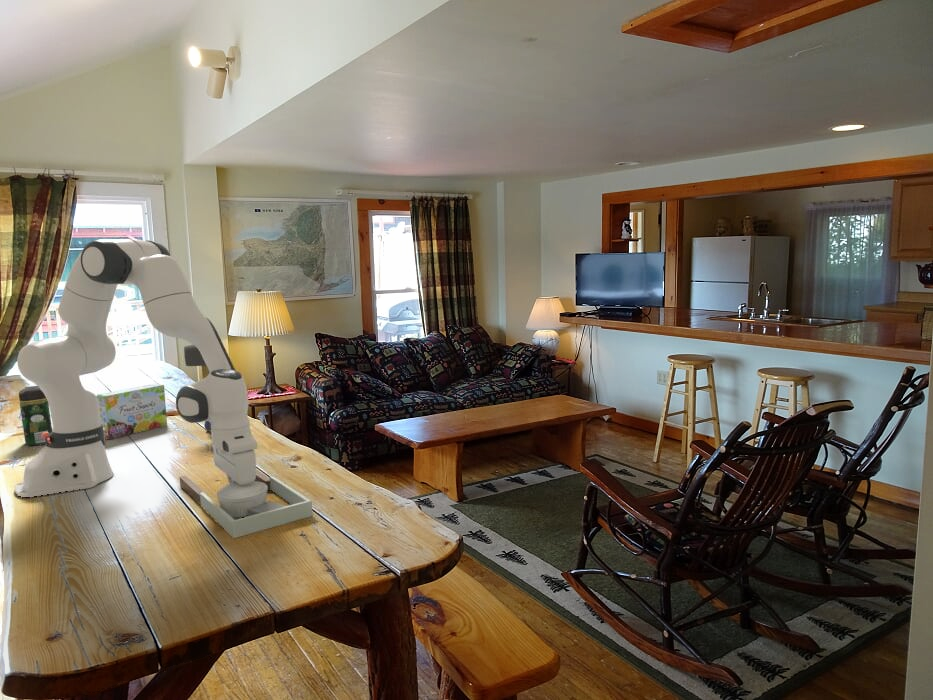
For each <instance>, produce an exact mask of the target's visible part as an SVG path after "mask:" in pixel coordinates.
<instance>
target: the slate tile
mask: <svg viewBox="0 0 933 700" xmlns="http://www.w3.org/2000/svg"><path fill="white" fill-rule="evenodd" d="M285 506H287V505H285V504H282V503H279V502H275V501H271V500H269V501H266V503H263V504H261V505H258V506H256V507H253V508H250V509H248V516H252V515H256V514H259V513H263V512H267V511H271V510H274V509H278V508H282V507H285Z"/></svg>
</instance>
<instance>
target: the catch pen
mask: <svg viewBox="0 0 933 700" xmlns="http://www.w3.org/2000/svg"><path fill="white" fill-rule="evenodd" d="M268 478H269V479H270V490H269V491H271V490H272V491H273V493H274V492H275V493H276V494H275V493H274V494H275V495H276V496H278V495H279V496H278V497H279V498H281V497H282V498H281V499H283V500H284V499H285V500H284V501H286V502H287V501H288V502H289V503H288V502H287V503H288V504H289V505H286V506H285V507H282V508H278V509H274V510H271V511H267V512H263V513H259V514H256V515H252V516H248V517H244V518H236V519H235V518H232V517H231V516H230V515H229V514H228V513H226V512H225V511H224V510H223V509H222V508H221V507H220V505H218V504H217V503H216V502H215V501H214V500H213V499H212V498H211V497H210V496H209V495H208V494H207V493H206V492H205V491H204V492H205V493H206V494H207V495H208V496H207V495H206V494H205V493H204V492H202V493H200V501H201V505H200V507H203V508H204V509H205V510H206V511H207V512H208V513H209V514H210V515H211V516H212V517H213V518H214V519H215V520H216V521H217V522H218V523H219V524H220V525H221V526H222V527H223V528H224V529H223V528H222V527H221V526H220V525H219V524H218V523H217V522H216V521H215V520H214V519H213V518H212V517H211V516H210V515H209V514H208V513H207V512H206V511H205V512H206V513H207V514H208V515H209V516H210V517H211V518H212V519H213V520H214V521H215V522H216V523H217V524H218V525H219V526H220V527H221V528H222V529H223V530H224V531H225V532H227V534H228V535H229V536H231V537H232V538H233V539H235V538H239V537H243V536H246V535H250V534H254V533H257V532H261V531H265V530H268V529H272V528H275V527H278V526H281V525H285V524H289V523H292V522H295V521H300V520H303V519H306V518H310V517H313V502H312V501H313V500H311V499H309V498H308V497H306V496H305V495H303V494H301V493H300V492H298V491H296V490H295V489H294V488H293V487H291V486H289V485H287V484H286V483H284V482H282V481H281V480H280V479H278V478H276V477H275V476H273V475H270V476H269V477H268ZM272 491H271V492H272Z"/></svg>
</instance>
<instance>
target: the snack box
mask: <svg viewBox="0 0 933 700" xmlns="http://www.w3.org/2000/svg"><path fill="white" fill-rule="evenodd" d="M165 392H166V391H165V384H158V383H151V384H146V385H142V386H141V385H140V386H135V387H131V388H125V389H119V390H114V391H108V392H102V393H98V394H96V396H97V398H98V401H99V410H100V419H101V424H102V425H103V428H104V433H105V438H107V439H106V440H108V439H110V440H113V439H112V438H114V439H117V437H118V438H121V436H122V437H126V436H129V435H128V434H130V435H133V434H132V433H135V434H137V433H136V432H139V433H141V431H143V432H146V430H147V431H150V429H151V430H154V428H155V429H158V428H163V427H165V426H166V427H167V426H168V419H167V418H168V416H167V406H166V393H165ZM125 435H126V436H125Z"/></svg>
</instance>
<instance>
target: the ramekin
mask: <svg viewBox="0 0 933 700" xmlns="http://www.w3.org/2000/svg"><path fill="white" fill-rule="evenodd" d="M268 492H269V491H268V487H267V485H266V484H265V483H263V482H258V481H254V482H253V483H249V484H244V485H240V484H239V483H233V484H229V483H228V484H227V485H223V486H221V487H220V488H219V489H218V490H217V492H216V498H217V499H218V503H219V506H220V507H221V508H222V509H223V510H224V511H225V512H226V513H228V514H229V515H230V516H231V517H232V518H233V519H241V518H242V517H248V509H250V508H253V507H256V506H258V505H261V504H263V503H266V502H267V493H268Z"/></svg>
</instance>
